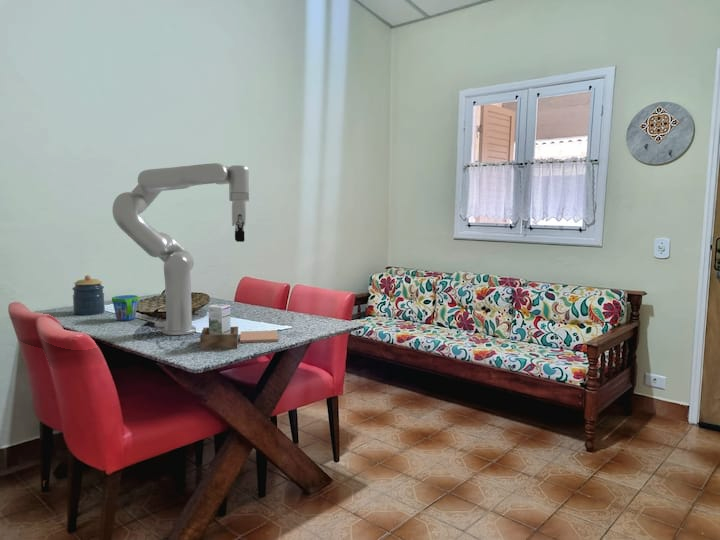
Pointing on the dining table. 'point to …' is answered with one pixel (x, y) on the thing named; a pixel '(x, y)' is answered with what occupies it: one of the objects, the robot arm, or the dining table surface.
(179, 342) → the dining table surface
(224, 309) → the syrup box
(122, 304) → the snack cup
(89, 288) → the canister
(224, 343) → the collar
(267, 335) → the tile
